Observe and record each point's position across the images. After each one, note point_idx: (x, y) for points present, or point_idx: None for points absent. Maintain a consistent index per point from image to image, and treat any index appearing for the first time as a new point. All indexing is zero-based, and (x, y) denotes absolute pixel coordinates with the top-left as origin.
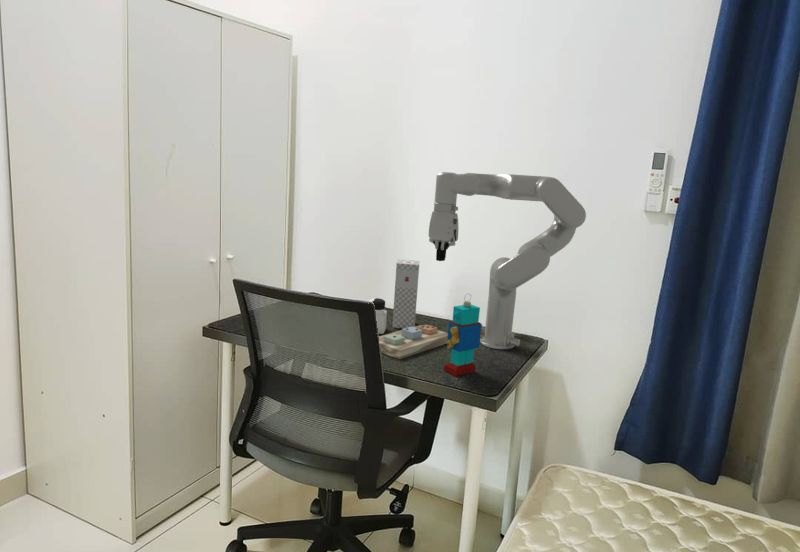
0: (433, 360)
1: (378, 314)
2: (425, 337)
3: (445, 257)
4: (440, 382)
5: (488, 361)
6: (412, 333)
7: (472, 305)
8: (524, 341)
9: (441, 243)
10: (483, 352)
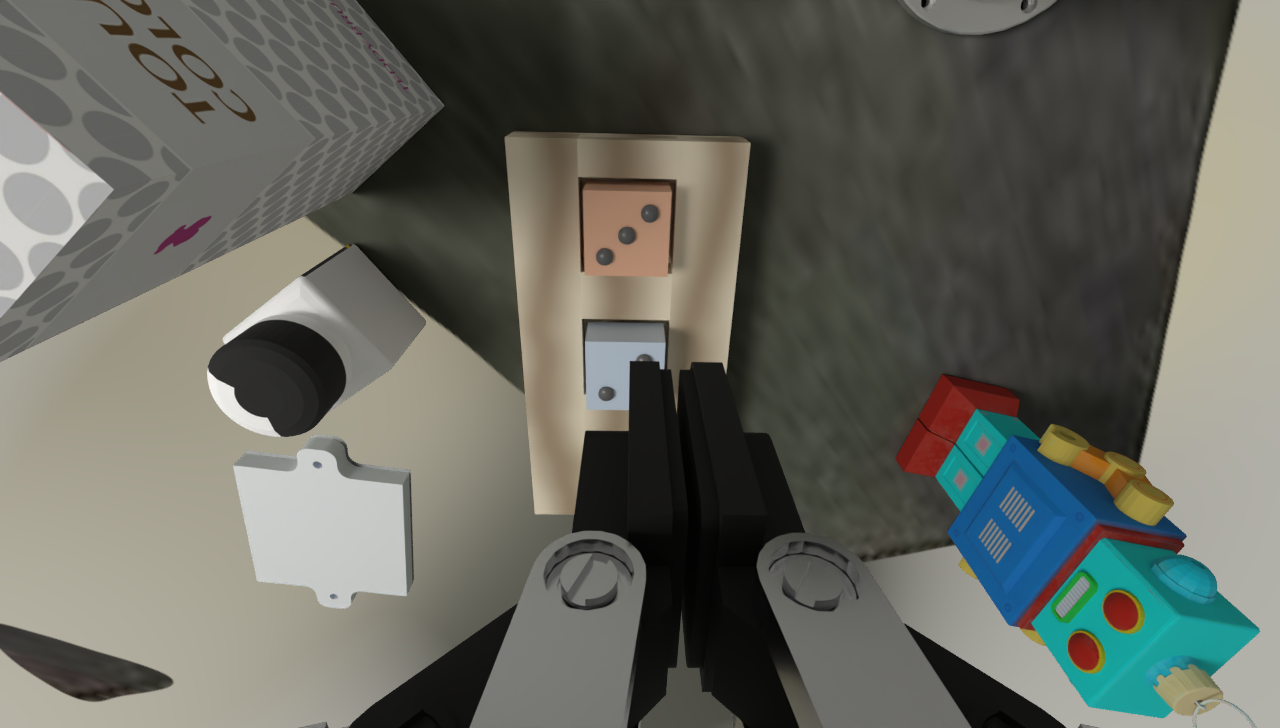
0: (811, 410)
1: (358, 383)
2: (681, 314)
3: (768, 435)
4: (929, 535)
5: (1025, 239)
6: None
7: (1202, 630)
8: None
9: (617, 725)
10: (964, 137)
